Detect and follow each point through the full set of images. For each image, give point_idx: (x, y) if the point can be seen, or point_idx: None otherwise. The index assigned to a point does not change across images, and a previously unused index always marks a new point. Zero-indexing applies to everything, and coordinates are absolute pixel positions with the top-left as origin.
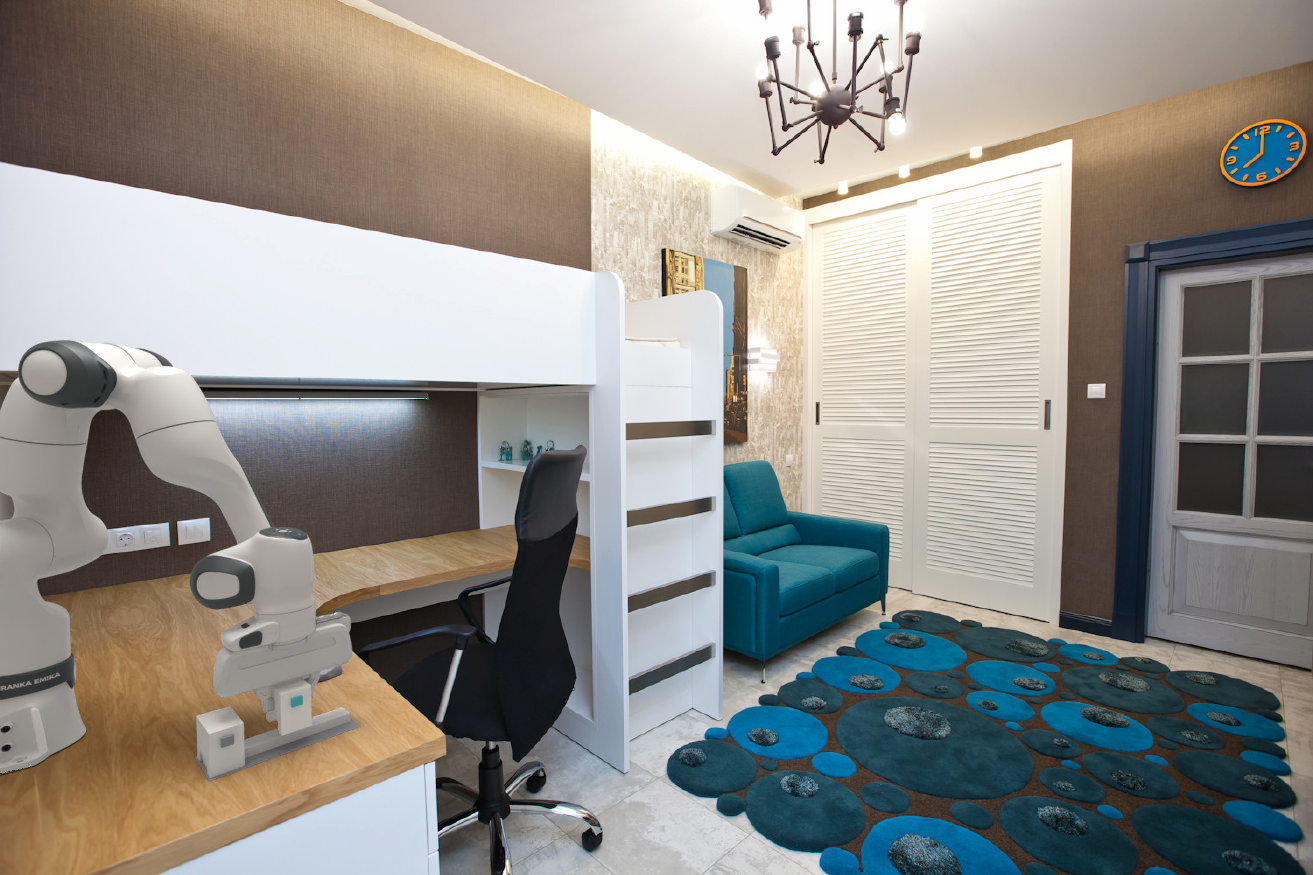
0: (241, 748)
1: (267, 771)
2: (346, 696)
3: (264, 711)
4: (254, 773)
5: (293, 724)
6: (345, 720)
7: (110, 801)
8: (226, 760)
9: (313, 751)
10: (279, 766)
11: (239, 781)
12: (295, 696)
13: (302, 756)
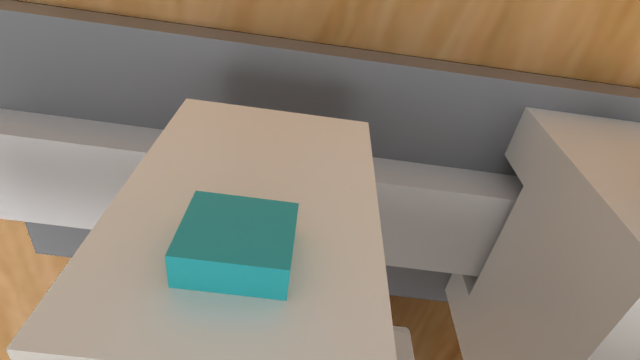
0: (582, 157)
1: (464, 8)
2: (7, 319)
3: (408, 333)
4: (503, 45)
5: (294, 136)
6: (16, 118)
7: None
8: (632, 147)
9: (230, 7)
10: (406, 5)
11: (582, 30)
12: (233, 297)
13: (289, 5)
